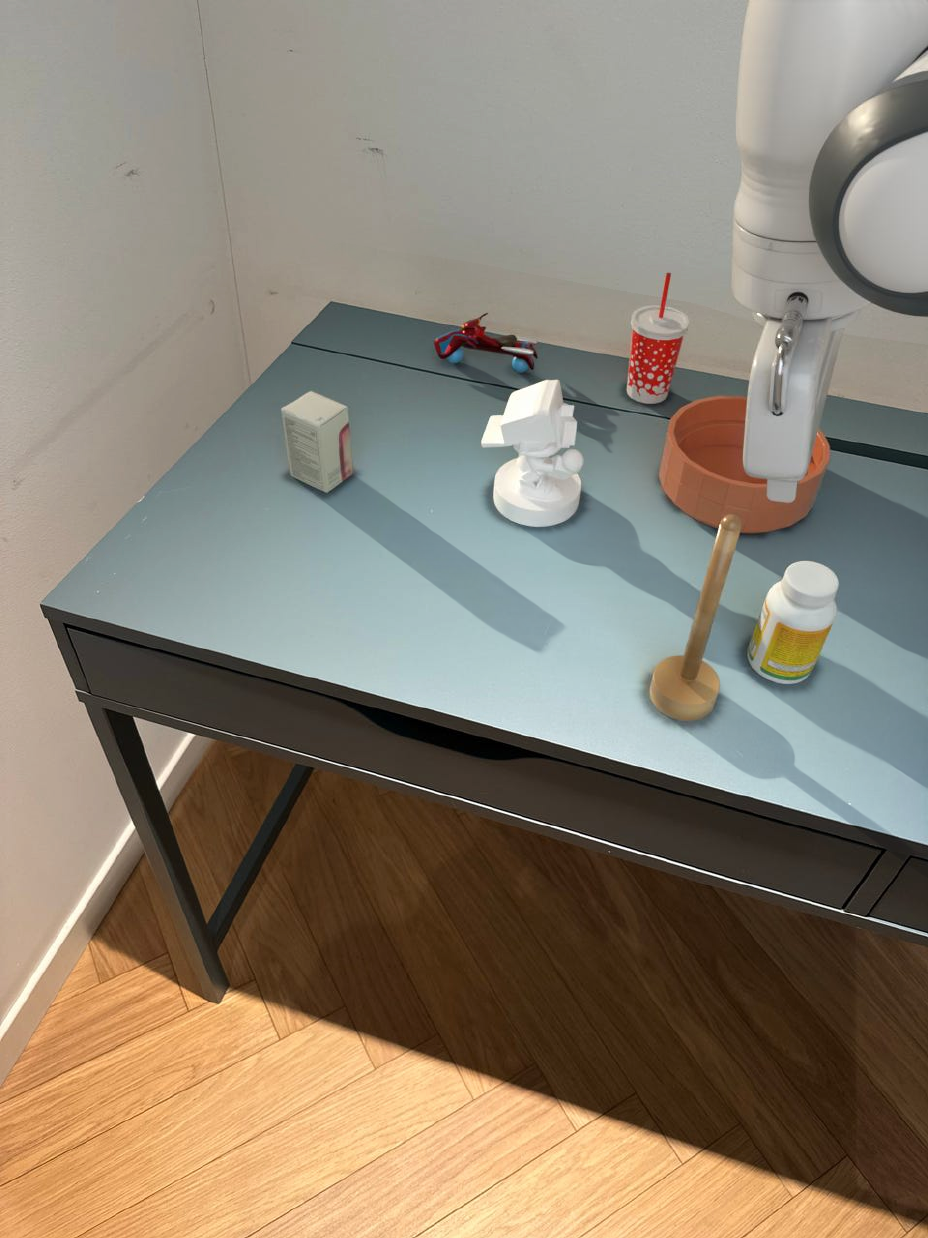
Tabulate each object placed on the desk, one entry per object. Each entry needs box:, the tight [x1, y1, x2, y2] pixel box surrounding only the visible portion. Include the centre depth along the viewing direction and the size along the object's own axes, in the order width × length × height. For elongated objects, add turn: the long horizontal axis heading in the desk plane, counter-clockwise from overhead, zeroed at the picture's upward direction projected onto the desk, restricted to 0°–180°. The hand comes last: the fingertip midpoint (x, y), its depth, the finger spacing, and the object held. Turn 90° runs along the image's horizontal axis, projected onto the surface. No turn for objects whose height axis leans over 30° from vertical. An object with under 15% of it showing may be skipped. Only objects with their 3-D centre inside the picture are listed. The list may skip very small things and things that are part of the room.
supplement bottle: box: [746, 560, 840, 685], centre depth 76 cm, size 5×5×10 cm
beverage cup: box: [626, 272, 690, 405], centre depth 103 cm, size 6×6×14 cm
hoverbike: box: [433, 312, 539, 374], centre depth 110 cm, size 5×12×6 cm, turn 77°
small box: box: [280, 390, 354, 494], centre depth 93 cm, size 5×4×8 cm
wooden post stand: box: [649, 514, 742, 722], centre depth 70 cm, size 5×5×18 cm
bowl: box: [658, 395, 831, 534], centre depth 94 cm, size 15×15×6 cm
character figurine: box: [480, 379, 584, 528], centre depth 90 cm, size 9×10×12 cm
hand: (793, 453), depth 66 cm, fingers open, 8 cm apart
